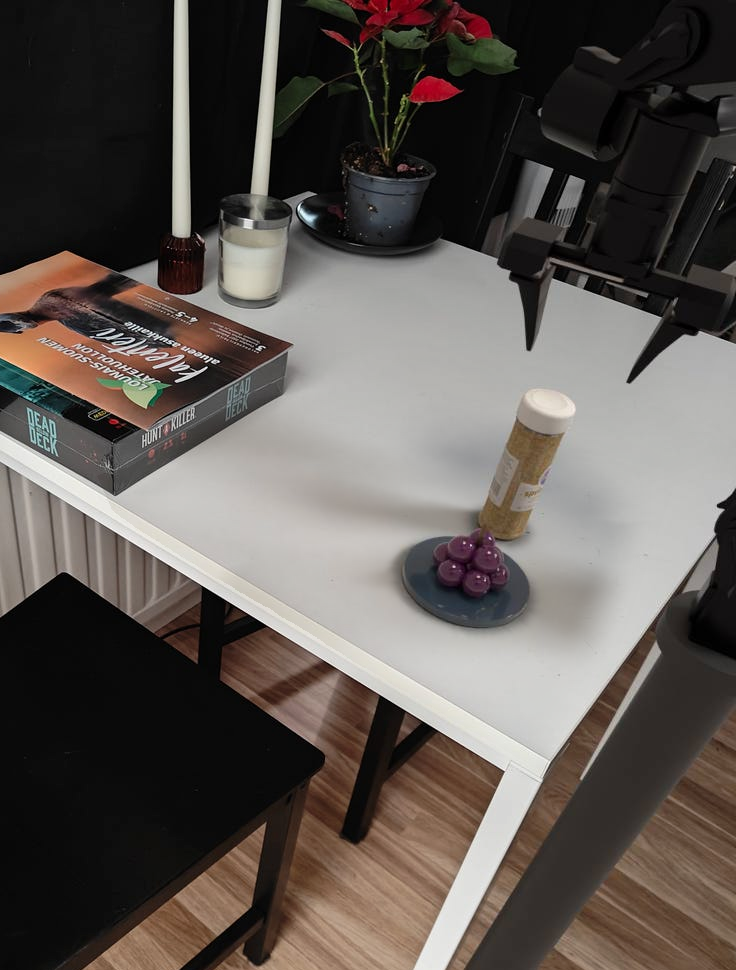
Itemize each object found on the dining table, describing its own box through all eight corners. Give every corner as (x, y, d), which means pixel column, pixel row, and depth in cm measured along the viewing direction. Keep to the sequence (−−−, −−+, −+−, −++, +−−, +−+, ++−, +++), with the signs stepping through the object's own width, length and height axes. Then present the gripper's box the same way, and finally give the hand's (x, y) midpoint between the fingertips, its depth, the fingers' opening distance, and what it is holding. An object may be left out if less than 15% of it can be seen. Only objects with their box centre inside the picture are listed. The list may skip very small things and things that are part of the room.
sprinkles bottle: (521, 547, 83) (575, 420, 73) (473, 533, 83) (520, 406, 74) (526, 519, 86) (578, 394, 76) (479, 505, 86) (526, 380, 77)
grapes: (541, 572, 80) (567, 513, 76) (506, 646, 73) (532, 586, 68) (427, 527, 83) (445, 467, 78) (383, 594, 76) (400, 532, 71)
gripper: (781, 186, 73) (694, 362, 84) (558, 129, 78) (504, 303, 89) (770, 227, 66) (677, 414, 77) (525, 161, 70) (470, 346, 81)
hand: (578, 365), depth 81 cm, fingers open, 9 cm apart
